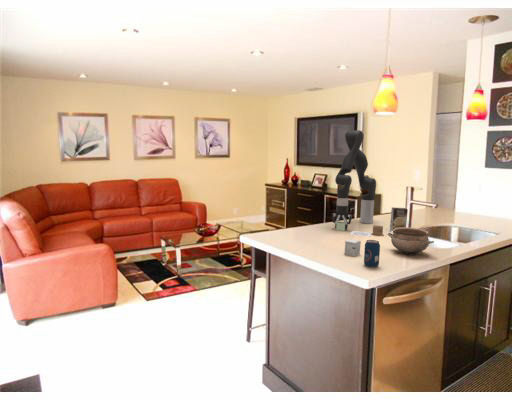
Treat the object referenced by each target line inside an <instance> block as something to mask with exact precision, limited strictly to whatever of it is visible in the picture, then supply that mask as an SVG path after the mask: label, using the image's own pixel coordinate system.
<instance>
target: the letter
mask: <svg viewBox="0 0 512 400" xmlns="http://www.w3.org/2000/svg"><path fill="white" fill-rule="evenodd" d="M371 234H373V232H368V231H367V232H366V231H358V230H352V231H351V232H350V233H349V234H348V235H349V236H350V235H351V236H360V237H368V238H369V237H371V236H372V235H371Z"/></svg>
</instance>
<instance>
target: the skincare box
mask: <svg viewBox="0 0 512 400" xmlns="http://www.w3.org/2000/svg"><path fill="white" fill-rule="evenodd" d="M361 242H362V241H361V240H357V239H353V238H352V239H351V238H350V239H347V240H345V241H344V243H345V244H344V255H347V256H349V257H357V256H359V255H360V254H361V244H362V243H361Z"/></svg>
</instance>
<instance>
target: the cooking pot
mask: <svg viewBox="0 0 512 400" xmlns="http://www.w3.org/2000/svg"><path fill="white" fill-rule="evenodd" d="M393 230H394V232H388V233H387V236H388V237H389V238H391V240H390V241H391V245H392V246H393V247H394V248H395V249H397V250H398V251H400V253H402V254H403V255H409V254H414V255H417V254H419V253H421V252H424V251H425V250H427V248H428V247H429V244H430V245H431V244H433V243H435V240H430V239H429V236H428V234H429V231H428V230H425V229H422V228H421V229H420V228H418V227H417V228H416V227H407V226H406V227H399V228H394V229H393Z"/></svg>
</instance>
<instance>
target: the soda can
mask: <svg viewBox="0 0 512 400" xmlns="http://www.w3.org/2000/svg"><path fill="white" fill-rule="evenodd" d="M380 248H381V244H380V241H378V240H374V239H368V240H366V241H365V244H364V253H363V255H364V256H363V263H364V266H365V267H367V268H373V269H374V268H377V267H378V266H379V264H380V252H381V249H380Z"/></svg>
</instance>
